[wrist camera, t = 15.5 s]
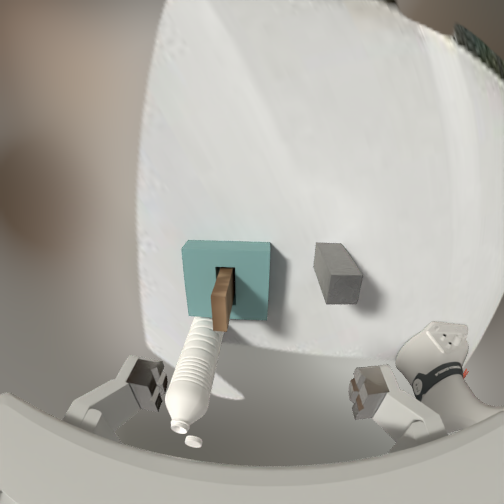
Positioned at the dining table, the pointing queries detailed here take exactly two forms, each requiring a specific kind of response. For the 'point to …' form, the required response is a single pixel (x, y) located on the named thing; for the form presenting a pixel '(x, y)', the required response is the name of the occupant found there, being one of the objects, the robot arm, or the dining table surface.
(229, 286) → the walnut blade
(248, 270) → the socket block
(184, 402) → the water bottle
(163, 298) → the dining table surface
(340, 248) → the square metal peg
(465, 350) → the robot arm
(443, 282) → the dining table surface
